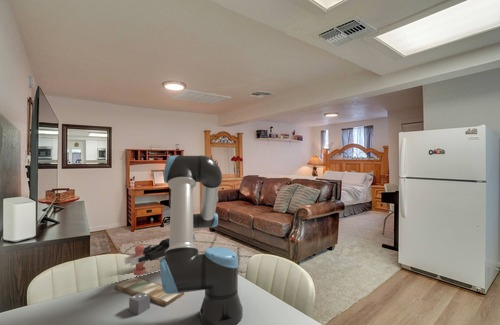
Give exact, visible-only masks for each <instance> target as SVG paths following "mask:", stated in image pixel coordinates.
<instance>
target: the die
mask: <svg viewBox="0 0 500 325" xmlns="http://www.w3.org/2000/svg"><path fill="white" fill-rule="evenodd" d="M128 301H129V302H128V311H129V312H130V313H132V314H135V315H137V316H139V315H141V314H143V313H144V312H146V311H148V310H149V309H150V308H151V301H150V295H149V294H146V293H143V292H140V293H138V294H136V295H132V296H131V297H128Z"/></svg>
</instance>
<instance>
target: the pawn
mask: <svg viewBox="0 0 500 325" xmlns="http://www.w3.org/2000/svg"><path fill="white" fill-rule="evenodd" d="M144 248H145V246H144V245H143V244H138V245H137V244H136V246H135V248H134V252H136V257H138V256H141V255H143V251H144ZM132 273H133V275H134V276H140V275H144V274H145V273H146V267H145V266H144V261H143V262H141V263H138V264H136V265H135V268H133V272H132Z"/></svg>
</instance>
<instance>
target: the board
mask: <svg viewBox="0 0 500 325" xmlns="http://www.w3.org/2000/svg"><path fill="white" fill-rule="evenodd" d="M114 290H117V291H120V292H123V293H127V294H129V295H132V296H134V295H136V294H138V293H140V292H143V293H146V294H149V295H150V302H152V303H154V304H158V305H161V306H163V307H167V306H169V305H170V304H172V303H174V302H175V301H176V300H178V299H180V298H181V297H183V296H184V295H185V292H183V293H179V294H177V293H175V294H166V293H164V291H163V289H162V284H160V283H157V282H154V281H150V280H146V279H143V278H140V277H136V276H135V277H131V278H130V279H128V280H125V281H122V282H121V283H119V284H117V285H115V286H114Z"/></svg>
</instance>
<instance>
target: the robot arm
mask: <svg viewBox="0 0 500 325" xmlns="http://www.w3.org/2000/svg"><path fill="white" fill-rule="evenodd" d="M163 172H164V174H163V180H164V183H166V184H167V187H168V188H169V189H170V214H169V215H170V216H169V217H170V218H169V219H170V220H169V237H168V238H165V239H162V240H161V241H160V242H159V244H156V245H154V246H152V244H150V245H148V246H146V247H145V246H144V251H143V255H141V256H138V257H136V252H135V251H134V252H135V253H134V254H132V255H131V254H130V255H129V256H126V257H124V265H128V264H130V267H133V266H136V264H138V263H141V262H143V263H144V262H145V261H149V262H152V261H155V260H158V259H159V272H160V281H161V285H162V289H163V291H164V293H166V294H175V293H177V294H179V293H183V292H184V293H189V292H197V291H204V297H203V301H202V303H201V307H200V310H199V321H200V320H201V321H200V322H201V324H203V325H235V324H236V323H237V324H239V323H240V322H241V320H242V319H243V317H244V316H243V312H244V311H243V310H244V309H243V305H242V303H241V299H240V295H239V292H238V290H239V289H238V282H239V281H238V276H239V274H238V271H239V269H238V268H239V264H238V263H239V262H238V261H239V260H238V254H237V253H236V252H235V251H234V250H232V249H230V248H226V247H220V246H213V247H212V246H211V247H207V248H206V249H205V251H204V253H199V248H197V247H196V245H195V244H194V242H195V240H196V238H195V234H194V229H202V228H203V229H204V228H215V227H217V226H218V225H219V216H218V213H216V209H217V201H218V194H219V188H220V186H221V185H222V181H223V176H222V175H223V174H222V171H221V168H220V166H219V165H218V163H217V162H216V161H215V160H214V159H212V158H211V157H210V156H206V155H179V154H177V155H169V156H168V157H167V158H166V161H165V164H164V171H163ZM197 183H201V185H202V192H201V206H200V208H201V209H200V213H194V198H193V197H194V194H193V189H194V188H195V187H196V185H197ZM239 321H240V322H239ZM237 324H236V325H237Z"/></svg>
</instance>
